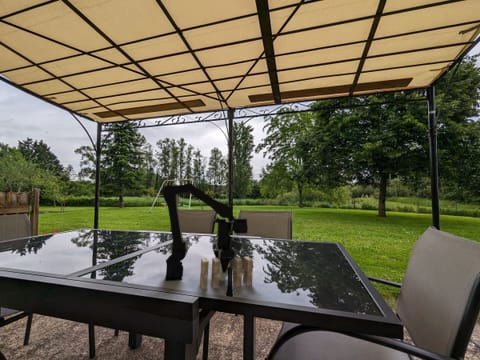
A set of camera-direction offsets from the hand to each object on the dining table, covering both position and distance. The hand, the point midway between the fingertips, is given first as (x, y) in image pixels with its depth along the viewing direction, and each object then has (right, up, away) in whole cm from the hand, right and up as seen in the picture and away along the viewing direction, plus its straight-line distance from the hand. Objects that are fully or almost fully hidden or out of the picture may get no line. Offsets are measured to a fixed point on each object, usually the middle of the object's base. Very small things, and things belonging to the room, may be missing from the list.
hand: (222, 269), depth 99 cm
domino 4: (+6, -3, -7) cm, 10 cm away
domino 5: (+11, -3, -5) cm, 13 cm away
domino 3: (0, -4, 0) cm, 4 cm away
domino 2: (-2, -3, -9) cm, 10 cm away
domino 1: (-6, -2, -11) cm, 13 cm away
